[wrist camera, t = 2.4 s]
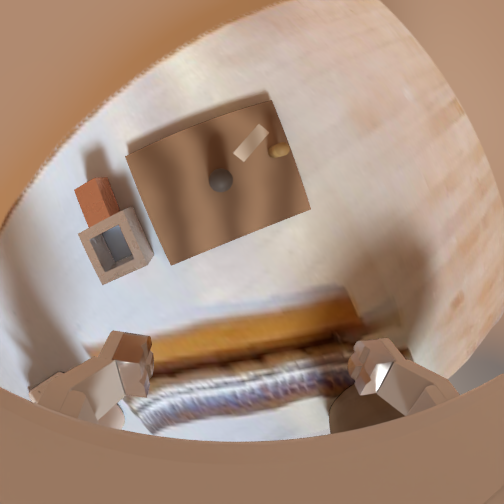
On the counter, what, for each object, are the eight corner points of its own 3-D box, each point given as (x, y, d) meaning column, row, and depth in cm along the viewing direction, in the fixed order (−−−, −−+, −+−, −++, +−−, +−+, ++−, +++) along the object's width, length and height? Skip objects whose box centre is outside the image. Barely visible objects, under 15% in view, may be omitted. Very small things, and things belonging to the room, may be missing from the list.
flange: (154, 255, 32) (147, 265, 28) (112, 273, 32) (102, 285, 28) (118, 171, 29) (107, 170, 25) (78, 194, 28) (63, 196, 25)
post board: (172, 261, 33) (165, 280, 27) (128, 157, 28) (111, 153, 22) (306, 207, 34) (327, 214, 28) (268, 103, 29) (282, 88, 23)
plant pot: (276, 420, 43) (308, 516, 23) (377, 331, 41) (457, 411, 21) (343, 445, 51) (377, 509, 30) (420, 378, 49) (473, 434, 28)
